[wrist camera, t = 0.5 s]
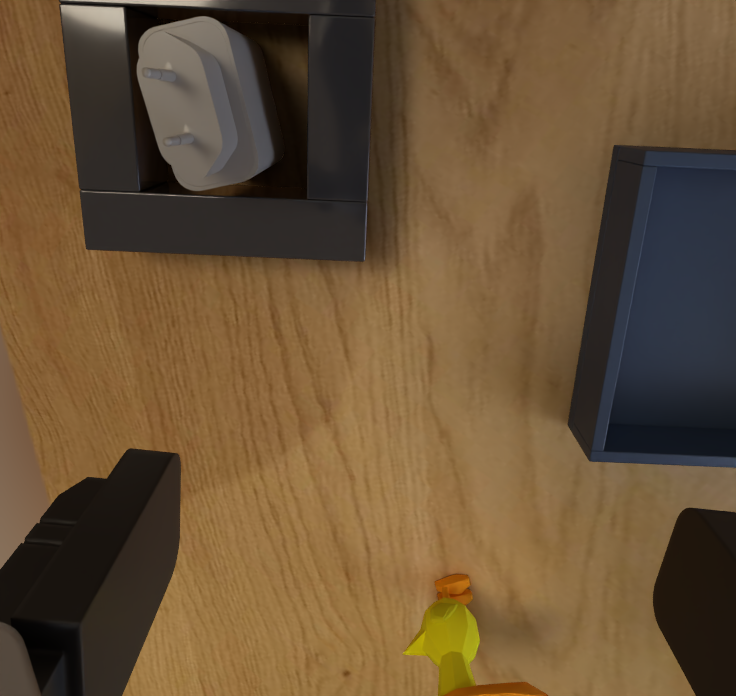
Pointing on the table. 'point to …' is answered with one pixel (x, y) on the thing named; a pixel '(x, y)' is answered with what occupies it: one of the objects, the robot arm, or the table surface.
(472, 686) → the toy figure
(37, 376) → the table surface
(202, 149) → the power adapter
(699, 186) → the basin
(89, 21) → the block
